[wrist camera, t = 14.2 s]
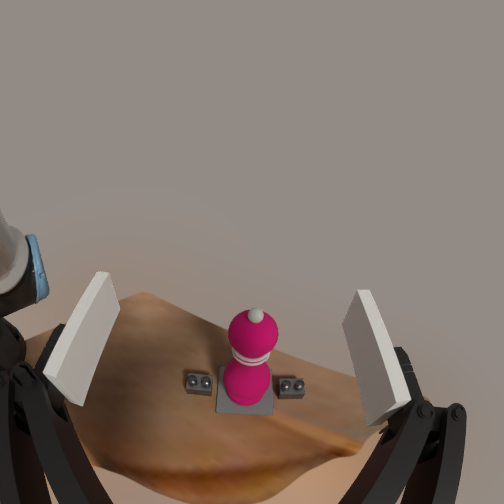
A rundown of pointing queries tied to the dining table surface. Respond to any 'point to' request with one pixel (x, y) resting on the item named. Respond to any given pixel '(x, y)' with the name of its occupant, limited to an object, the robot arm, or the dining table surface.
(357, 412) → the dining table surface
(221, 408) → the plate
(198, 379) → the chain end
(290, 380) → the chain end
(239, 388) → the pepper mill
